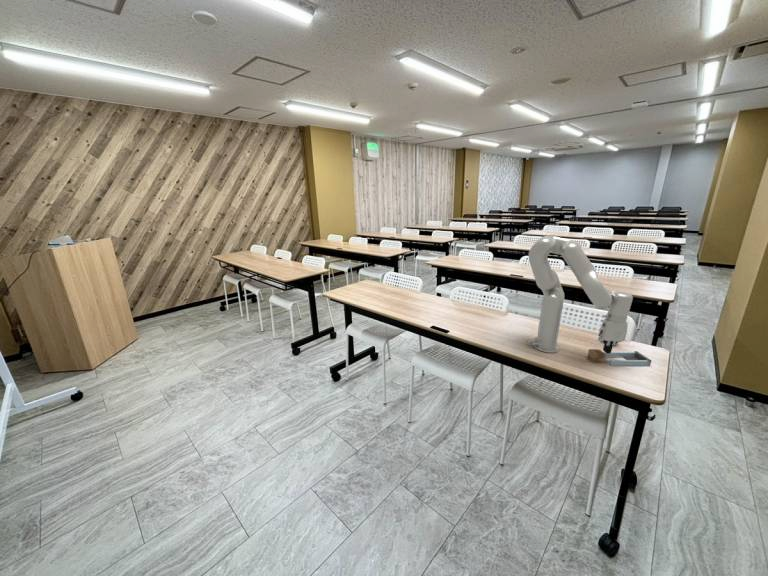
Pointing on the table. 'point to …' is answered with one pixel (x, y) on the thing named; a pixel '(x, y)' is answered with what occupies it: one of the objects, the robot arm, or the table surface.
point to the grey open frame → (629, 359)
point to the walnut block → (596, 356)
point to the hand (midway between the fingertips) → (606, 351)
